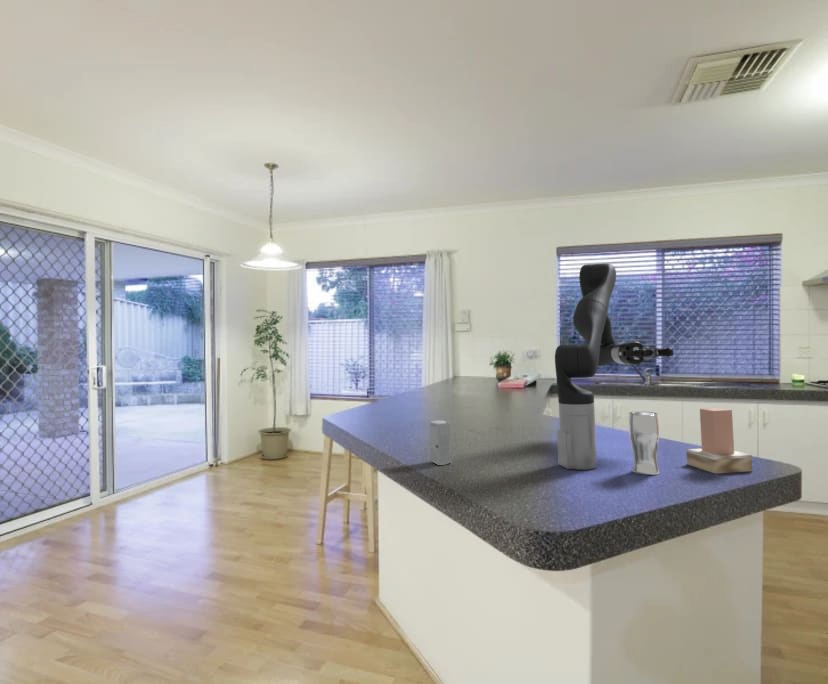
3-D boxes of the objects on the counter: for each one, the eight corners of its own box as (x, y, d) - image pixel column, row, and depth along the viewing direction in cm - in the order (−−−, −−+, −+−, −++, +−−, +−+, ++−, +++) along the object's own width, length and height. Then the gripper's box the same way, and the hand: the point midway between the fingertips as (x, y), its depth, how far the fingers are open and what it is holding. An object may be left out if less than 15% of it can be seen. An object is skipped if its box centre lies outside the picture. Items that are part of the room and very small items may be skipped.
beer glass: (660, 470, 121) (657, 411, 121) (661, 476, 114) (658, 415, 115) (630, 468, 124) (627, 411, 124) (630, 474, 117) (627, 414, 118)
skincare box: (429, 462, 139) (427, 421, 139) (442, 460, 140) (441, 419, 141) (438, 466, 133) (436, 423, 133) (452, 464, 135) (450, 422, 135)
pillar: (715, 454, 118) (713, 410, 119) (701, 450, 123) (699, 408, 124) (734, 453, 119) (731, 410, 119) (719, 449, 124) (717, 407, 124)
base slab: (715, 473, 116) (714, 457, 116) (687, 464, 125) (686, 449, 126) (752, 471, 117) (751, 454, 117) (721, 462, 126) (721, 447, 127)
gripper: (607, 342, 155) (635, 340, 139) (647, 341, 157) (680, 339, 140) (608, 365, 155) (636, 366, 139) (648, 363, 156) (681, 364, 140)
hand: (658, 352), depth 140 cm, fingers open, 8 cm apart
